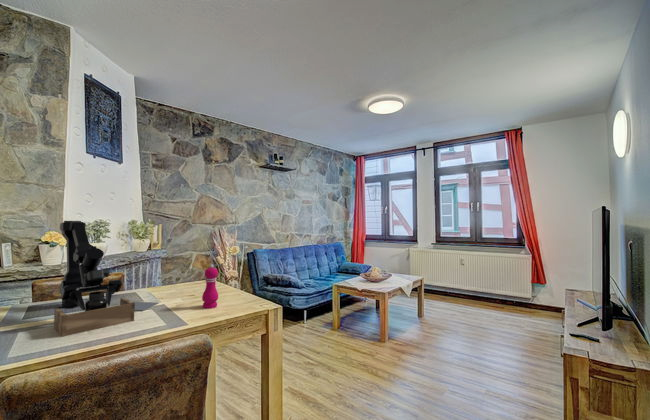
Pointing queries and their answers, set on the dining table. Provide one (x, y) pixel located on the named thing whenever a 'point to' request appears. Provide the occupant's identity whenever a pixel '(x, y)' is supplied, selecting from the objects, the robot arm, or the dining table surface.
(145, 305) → the felt mat
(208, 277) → the pepper mill
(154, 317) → the dining table surface
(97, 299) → the supplement bottle
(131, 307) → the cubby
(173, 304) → the dining table surface
